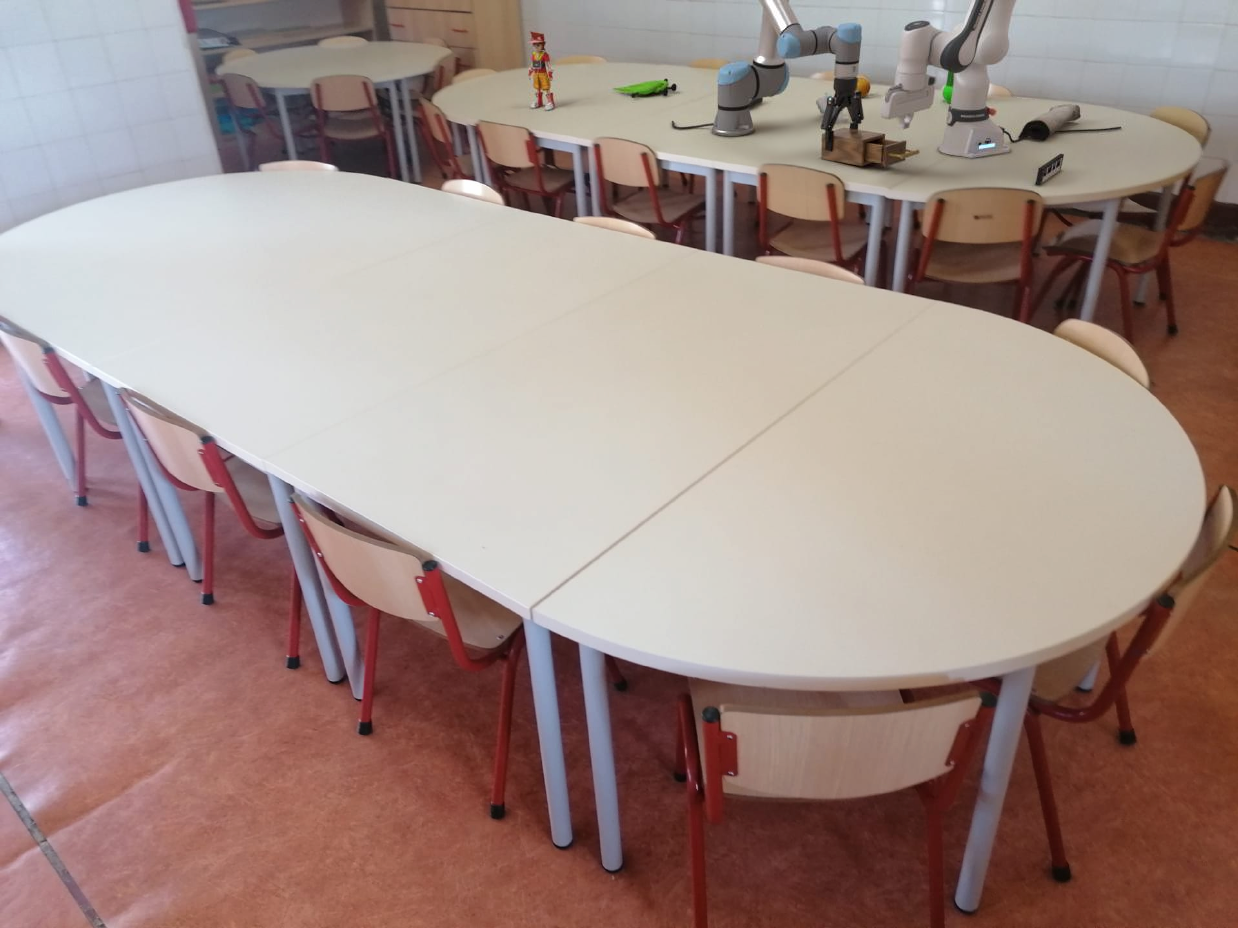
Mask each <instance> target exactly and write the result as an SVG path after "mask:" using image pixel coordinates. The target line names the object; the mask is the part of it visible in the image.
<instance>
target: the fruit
mask: <svg viewBox="0 0 1238 928" xmlns="http://www.w3.org/2000/svg"><path fill="white" fill-rule="evenodd" d="M857 78H858V83H857V89H856V90H857V91H861V92H862V95H861V98H864V97H866V96H868V95H869V93H870V91H871V84H870V81H869V80H868V79H867V78H864V77H857Z"/></svg>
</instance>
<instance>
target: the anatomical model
mask: <svg viewBox="0 0 1238 928" xmlns="http://www.w3.org/2000/svg"><path fill="white" fill-rule="evenodd" d="M828 97H831V98H832V97H833V96H832V95H830V93H828V92H825V93H824V95H823V96H822V97H819V98H817V99H816V100H815V104H816V106H817V108H818V110H819V113H820V114H822V115H824V113H825V109H826V106H827V98H828ZM844 110H846V107H845V108H843V109H842V111H840V113H839V116H838V118H837V120H836V122H835V124H836V123H837V122H848V121H849V120H850V117H848V116H847V117H846V116H844V115H843V112H844Z"/></svg>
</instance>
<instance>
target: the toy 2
mask: <svg viewBox="0 0 1238 928" xmlns="http://www.w3.org/2000/svg"><path fill="white" fill-rule="evenodd" d="M669 85H670V83H669V79H668V78H664V79H663V80H649V81H644V82H640V83H634V84H629V85H627V86H621V87H613V88H612V89H613V90H616V91H619V92H623V93H627V94H628V93H629V94H631V95H630V96H631V98H632V99H634V98H636V96H637V95H650V94H652V93H654V94H658V93H662V95H663V96H665V97H667V96H668V95H669V90H671V91H672V92H676V91H677V84H676V83H672V84H671V86H669Z"/></svg>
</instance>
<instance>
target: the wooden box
mask: <svg viewBox="0 0 1238 928" xmlns="http://www.w3.org/2000/svg"><path fill="white" fill-rule="evenodd" d="M832 130H833V131H834V137H833V151H827V150H825V142H826V141H825V132H823V133H821V152H820V153H821V157H820V158H821V159H822V160H827V161H833V162H838V163H843V164H849V165H855V166H858V167H859V166H860V167H863V166H866V165H870V164H873V163H874V162H870V161H865V160H864V151H865V143H866V142H869V141H873V140H876V139H879V138H880V139H886V133H884V132H876V131H869V130H863V129H858V130H857V129H850V127H841V128H837V129H832Z"/></svg>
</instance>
